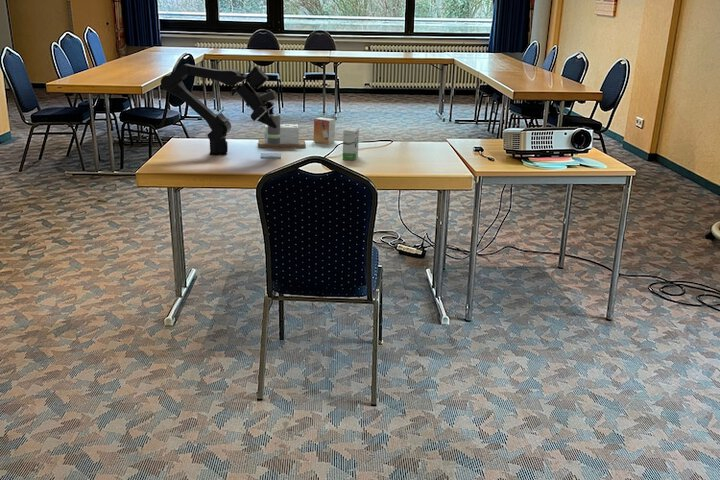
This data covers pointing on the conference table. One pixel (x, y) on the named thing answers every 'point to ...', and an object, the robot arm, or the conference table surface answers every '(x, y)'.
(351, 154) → the ink box
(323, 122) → the small box
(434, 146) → the conference table surface
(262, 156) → the slate mat
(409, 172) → the conference table surface
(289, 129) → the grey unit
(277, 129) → the cartridge
